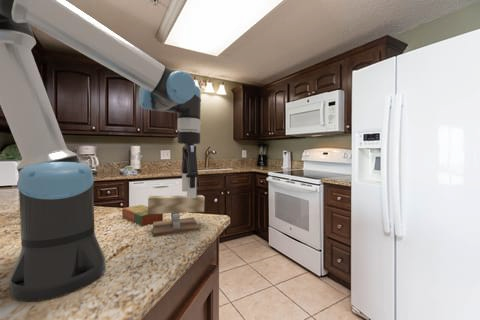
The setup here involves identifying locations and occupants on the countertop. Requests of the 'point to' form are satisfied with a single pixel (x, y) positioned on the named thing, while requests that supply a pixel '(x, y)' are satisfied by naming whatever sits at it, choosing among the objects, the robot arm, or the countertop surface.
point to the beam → (175, 204)
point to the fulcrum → (174, 226)
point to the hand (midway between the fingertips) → (188, 194)
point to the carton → (140, 215)
